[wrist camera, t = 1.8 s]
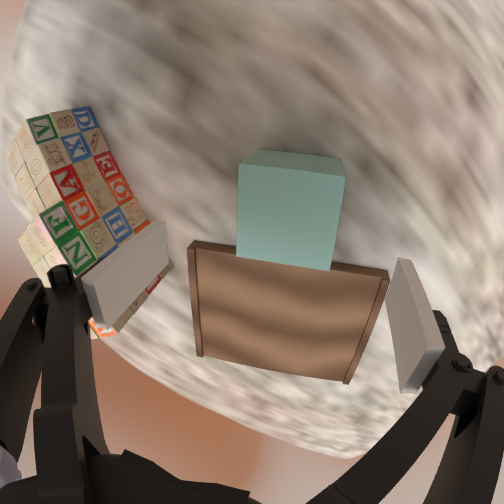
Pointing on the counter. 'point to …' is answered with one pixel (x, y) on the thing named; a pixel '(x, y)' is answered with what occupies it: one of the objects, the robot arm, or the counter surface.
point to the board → (282, 312)
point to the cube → (289, 208)
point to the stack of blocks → (74, 199)
